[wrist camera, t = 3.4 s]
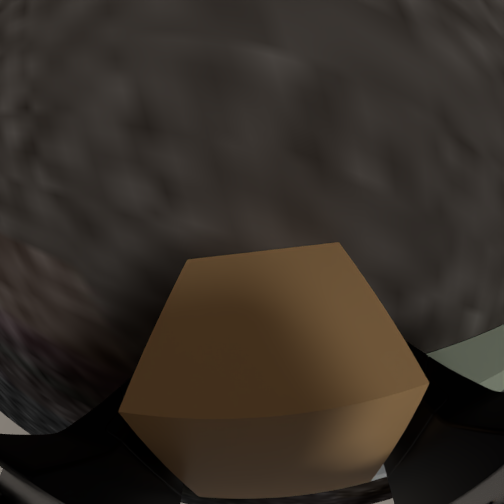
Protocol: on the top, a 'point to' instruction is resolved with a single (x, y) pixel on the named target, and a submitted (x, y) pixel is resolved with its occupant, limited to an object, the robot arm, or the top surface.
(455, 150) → the top surface
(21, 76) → the top surface
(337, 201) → the top surface
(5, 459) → the robot arm
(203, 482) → the cardboard shipping carton
